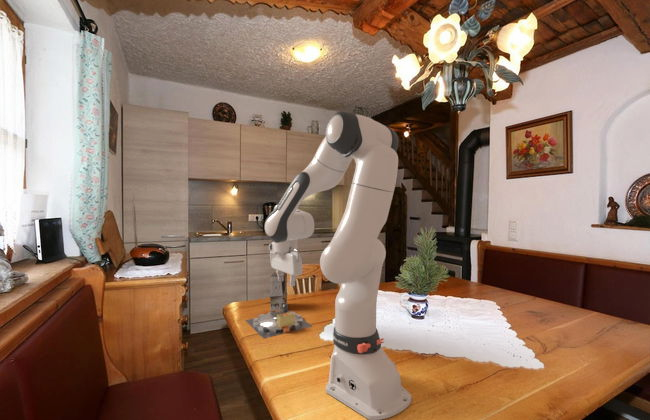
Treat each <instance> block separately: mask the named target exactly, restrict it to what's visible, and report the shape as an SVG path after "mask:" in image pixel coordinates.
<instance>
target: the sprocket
mask: <svg viewBox="0 0 650 420" xmlns="http://www.w3.org/2000/svg"><path fill="white" fill-rule="evenodd" d="M288 306H289V305H288V303H287V304H283V311H268V313H266V314H265V313H261V314H258V316H257V317H254V320H253V327H254V329H256V328H258V331H260V332H265V331H269V333H271V334H276V333H277V332H278V331H282V332H283V333H284V334H287V333H286V332H288V333H291V332H290V329H295V330H296V329H298V328H299V327H300V325H302V324H303V320H304V318H303V315H301V314H300V313H299V314H297V312H296V311H291V310H290V311H291V312H292V313H294V314H295V325H291V326H286V327H281V328H280V327H278V326H277V314H282V313H287V312H288V311H289V310H288V308H289V307H288ZM254 329H253V330H254ZM296 331H297V330H296Z"/></svg>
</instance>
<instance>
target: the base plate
mask: <svg viewBox="0 0 650 420" xmlns="http://www.w3.org/2000/svg"><path fill="white" fill-rule="evenodd" d="M288 312H291V310H288ZM254 318H255V317H254ZM254 318H250V319H245V322H246V323H247V324H248V325H249V326H250V327H251V328H252V329H253V330H254V331H255V332H256V333H257V334H258V335H259V336H260V337H261V338H262V339H268V338H272V337H276V336H280V335H283V334H288V333H291V332H296V331H299V330H304V329H308V328H312V327H313V325H312V324H311V323H309V322H307V321H306V320H305V319H303V324H302V325H300V327H299V328H298V329H296V330H295V329H290V332H286V333H283V332H282V331H278V332H277V333H276V334H271V333H269V331H265V332H260V331H258V328H256V329H254V327H253V320H254Z"/></svg>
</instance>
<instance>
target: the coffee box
mask: <svg viewBox="0 0 650 420" xmlns="http://www.w3.org/2000/svg"><path fill="white" fill-rule="evenodd" d="M282 274H283V277H284V281H281V282H280V281H278V276H277V272H273V273H272V274H271V275H270V280H269V281H270V282H269V283H270V285H269V286H270V288H269V289H270V290H269V291H270V292H269V294H270V298H269V299H270V301H269V303H270V305H269V307H270V308H269V309H270V311H269V312H271V311H274V312H280V311H283V304H288V278H287V276H288V273H285V272H282Z"/></svg>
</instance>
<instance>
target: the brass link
mask: <svg viewBox="0 0 650 420" xmlns="http://www.w3.org/2000/svg"><path fill="white" fill-rule="evenodd" d="M292 312H293V311H292ZM292 312H287V313H282V314H277V326H278V327H280V328H281V327H286V326H291V325H295V314H294V313H292Z"/></svg>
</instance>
